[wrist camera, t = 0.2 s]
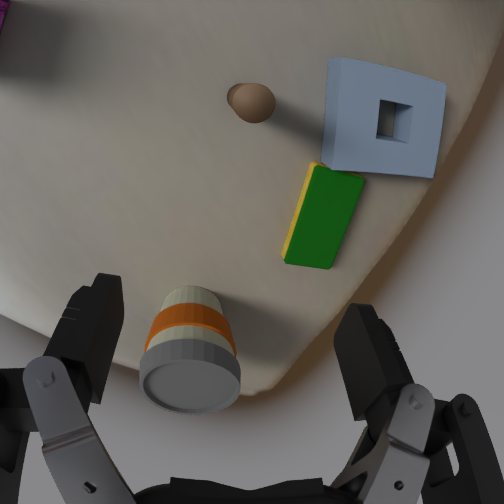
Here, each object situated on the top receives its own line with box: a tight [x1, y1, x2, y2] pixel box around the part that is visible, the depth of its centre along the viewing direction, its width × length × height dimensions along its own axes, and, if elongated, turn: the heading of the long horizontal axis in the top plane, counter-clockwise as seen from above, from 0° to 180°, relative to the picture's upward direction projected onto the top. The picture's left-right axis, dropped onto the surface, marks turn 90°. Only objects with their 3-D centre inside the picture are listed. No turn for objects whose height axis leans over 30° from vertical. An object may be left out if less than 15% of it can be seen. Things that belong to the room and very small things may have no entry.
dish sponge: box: [282, 161, 365, 269], centre depth 41 cm, size 7×14×2 cm, turn 166°
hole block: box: [321, 57, 447, 178], centre depth 33 cm, size 13×15×4 cm
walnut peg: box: [227, 84, 275, 123], centre depth 27 cm, size 3×3×12 cm
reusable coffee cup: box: [140, 286, 241, 415], centre depth 40 cm, size 12×13×15 cm
